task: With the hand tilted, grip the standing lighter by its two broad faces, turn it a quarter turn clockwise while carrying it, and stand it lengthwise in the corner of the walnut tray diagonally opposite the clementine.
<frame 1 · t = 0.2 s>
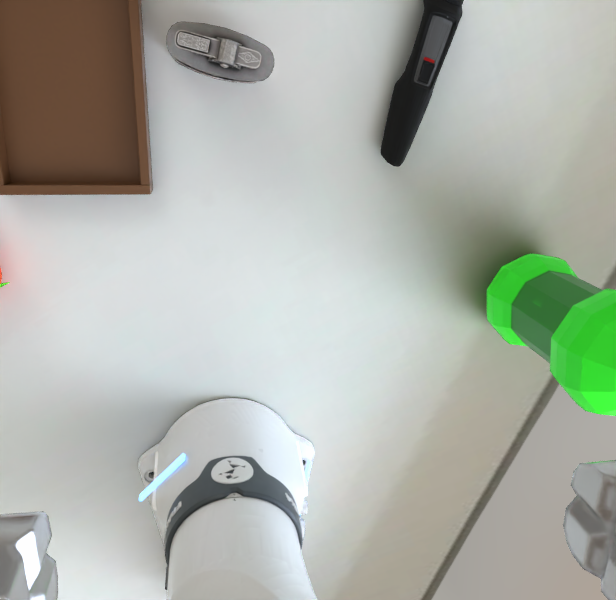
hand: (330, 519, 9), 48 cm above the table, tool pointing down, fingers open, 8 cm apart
electric trimmer: (415, 77, 54), on the table
lighter: (218, 58, 50), on the table
tray: (68, 78, 49), on the table
plastic bottle: (514, 289, 63), on the table
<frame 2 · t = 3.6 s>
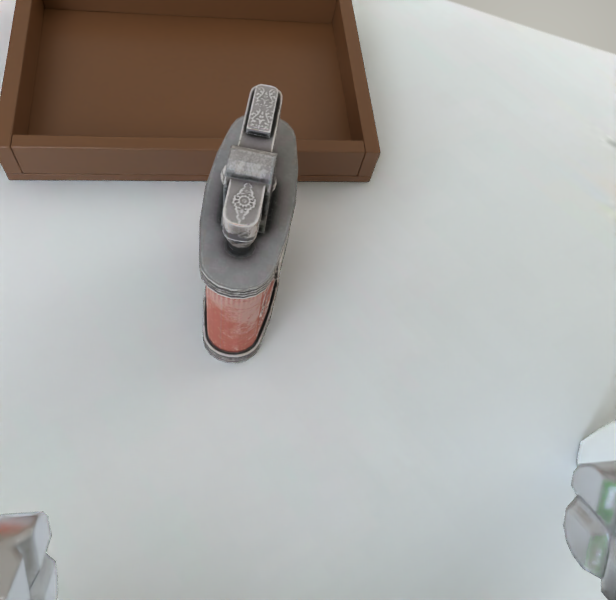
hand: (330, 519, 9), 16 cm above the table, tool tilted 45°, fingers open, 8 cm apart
lighter: (242, 287, 28), on the table
tray: (196, 91, 33), on the table
milkshake: (600, 471, 27), on the table
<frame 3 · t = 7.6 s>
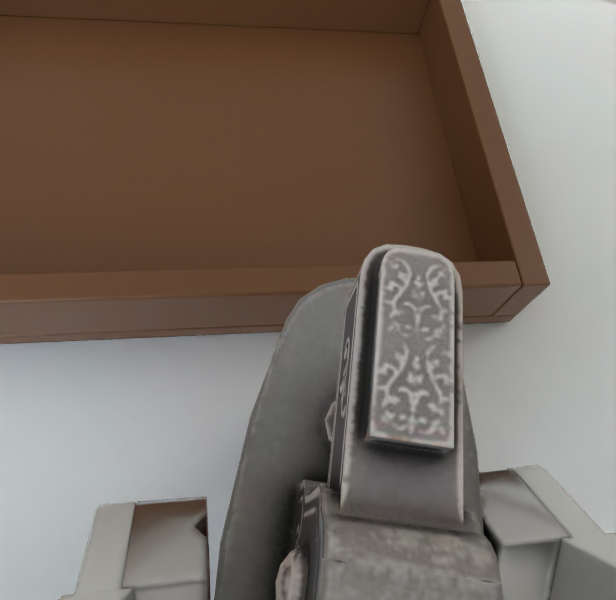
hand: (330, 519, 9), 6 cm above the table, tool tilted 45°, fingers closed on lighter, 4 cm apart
lighter: (290, 572, 14), on the table, touching gripper
tray: (194, 156, 19), on the table
when the fingers open (6 cm above the table, at t = 16.2 s): lighter stays where it is, resting on tray.
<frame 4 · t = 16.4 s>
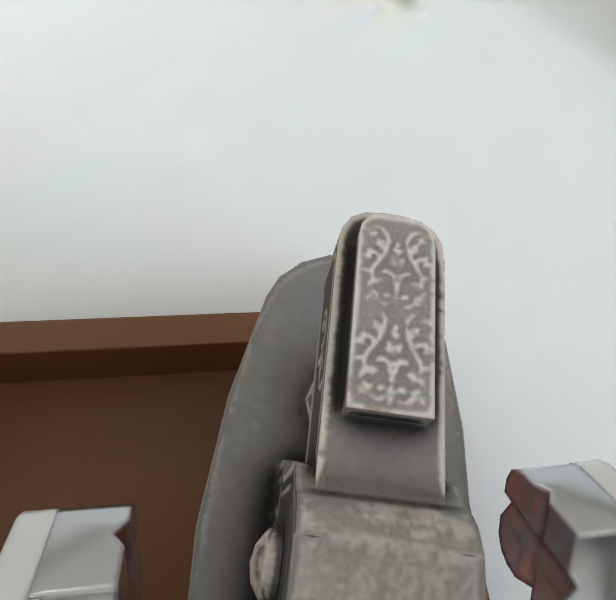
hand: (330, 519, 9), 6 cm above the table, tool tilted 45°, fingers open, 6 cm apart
lighter: (278, 563, 14), resting on tray
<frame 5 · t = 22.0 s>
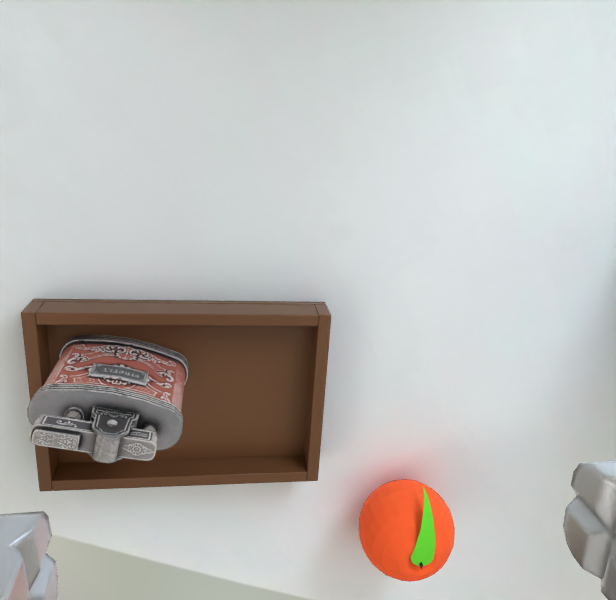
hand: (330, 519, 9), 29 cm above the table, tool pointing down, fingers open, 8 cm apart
lighter: (127, 360, 38), resting on tray
clementine: (393, 490, 46), on the table
tray: (185, 386, 40), on the table
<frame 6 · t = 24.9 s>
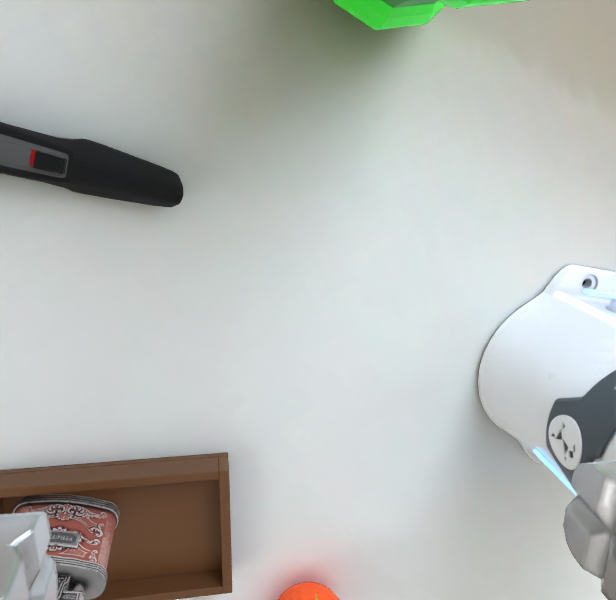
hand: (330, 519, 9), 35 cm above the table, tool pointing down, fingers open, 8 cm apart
electric trimmer: (64, 156, 39), on the table
lighter: (68, 510, 48), resting on tray
clementine: (302, 588, 55), on the table
tray: (118, 524, 49), on the table
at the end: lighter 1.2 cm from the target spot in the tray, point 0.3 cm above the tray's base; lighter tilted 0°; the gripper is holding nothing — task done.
